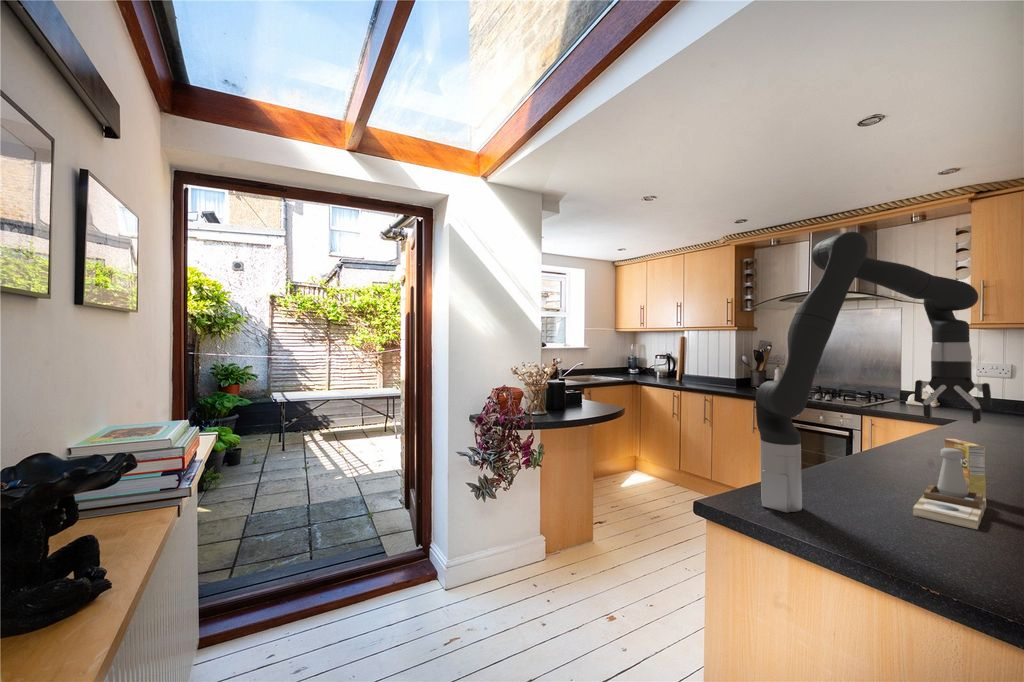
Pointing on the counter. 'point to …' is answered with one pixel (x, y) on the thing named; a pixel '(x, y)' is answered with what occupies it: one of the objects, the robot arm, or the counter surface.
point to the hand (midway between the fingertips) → (951, 420)
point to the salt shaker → (952, 474)
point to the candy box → (971, 464)
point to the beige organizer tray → (951, 508)
